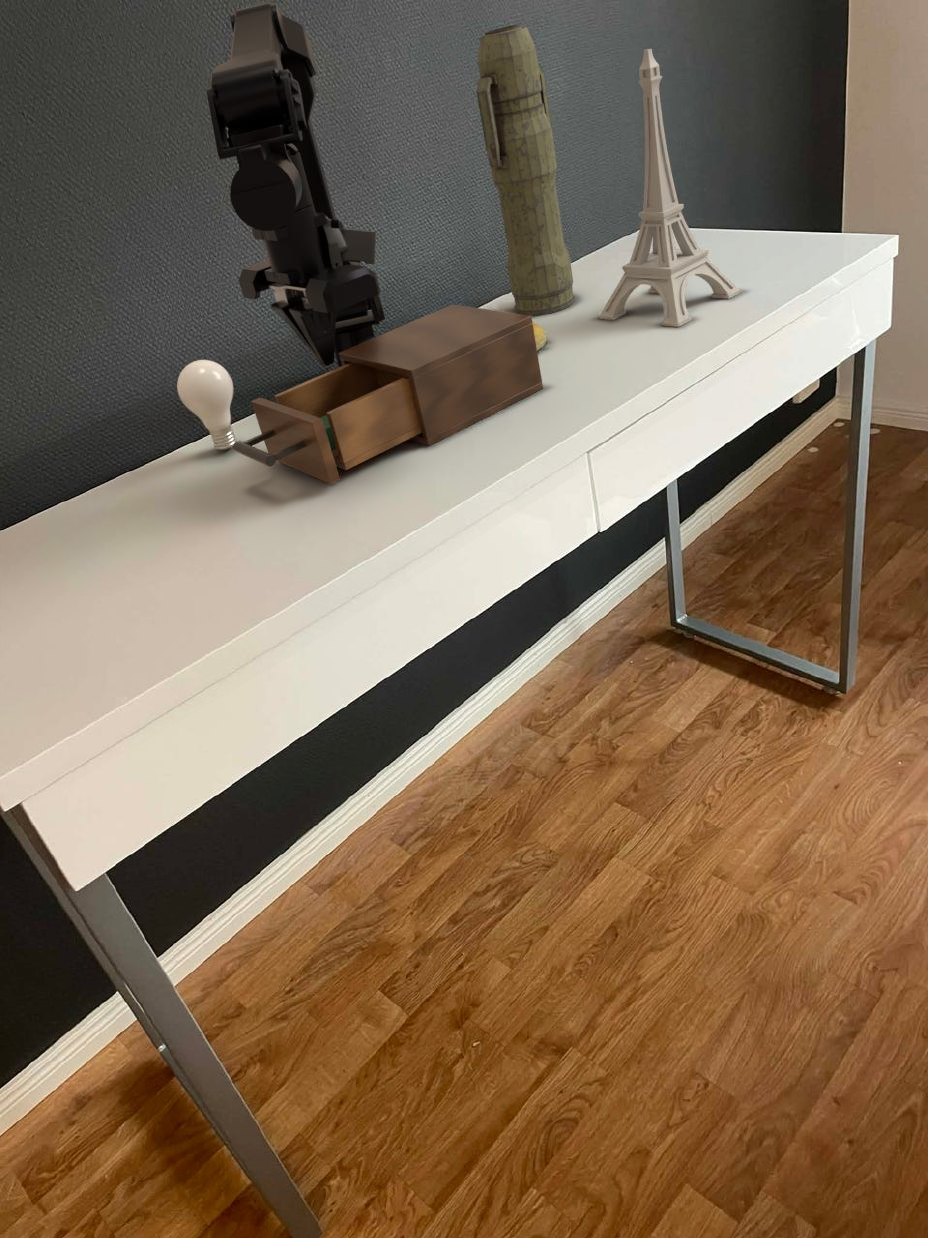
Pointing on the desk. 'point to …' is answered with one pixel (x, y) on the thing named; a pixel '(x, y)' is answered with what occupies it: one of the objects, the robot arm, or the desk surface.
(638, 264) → the eiffel tower
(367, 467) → the desk surface
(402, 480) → the desk surface
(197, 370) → the lightbulb
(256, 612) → the desk surface
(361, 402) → the drawer
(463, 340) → the cabinet
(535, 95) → the thermos
